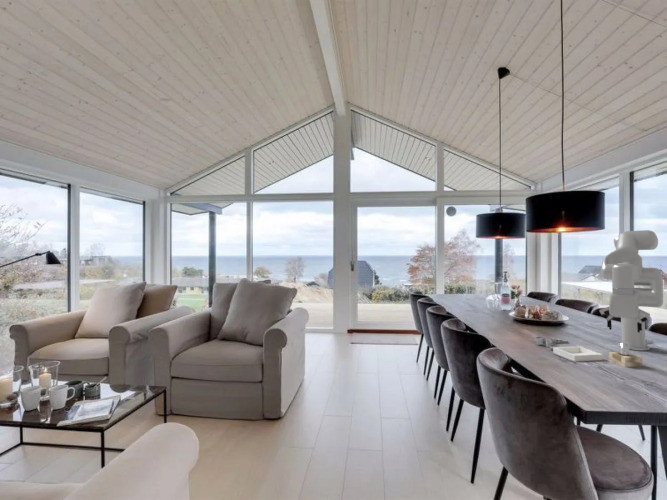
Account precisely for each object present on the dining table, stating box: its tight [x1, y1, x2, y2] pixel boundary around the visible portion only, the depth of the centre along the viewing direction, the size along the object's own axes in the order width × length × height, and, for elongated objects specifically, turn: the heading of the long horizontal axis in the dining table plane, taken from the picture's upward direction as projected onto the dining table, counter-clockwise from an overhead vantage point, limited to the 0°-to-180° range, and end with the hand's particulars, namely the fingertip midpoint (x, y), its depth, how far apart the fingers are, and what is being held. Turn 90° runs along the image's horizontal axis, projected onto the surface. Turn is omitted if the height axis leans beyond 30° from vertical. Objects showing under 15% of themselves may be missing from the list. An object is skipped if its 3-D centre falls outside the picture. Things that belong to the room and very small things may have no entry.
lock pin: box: [619, 342, 630, 356], centre depth 153 cm, size 3×3×9 cm
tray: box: [552, 345, 604, 364], centre depth 165 cm, size 14×14×4 cm
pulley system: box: [533, 336, 569, 352], centre depth 190 cm, size 27×5×15 cm
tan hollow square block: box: [608, 351, 643, 368], centre depth 153 cm, size 8×8×5 cm
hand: (624, 330), depth 153 cm, fingers open, 9 cm apart
